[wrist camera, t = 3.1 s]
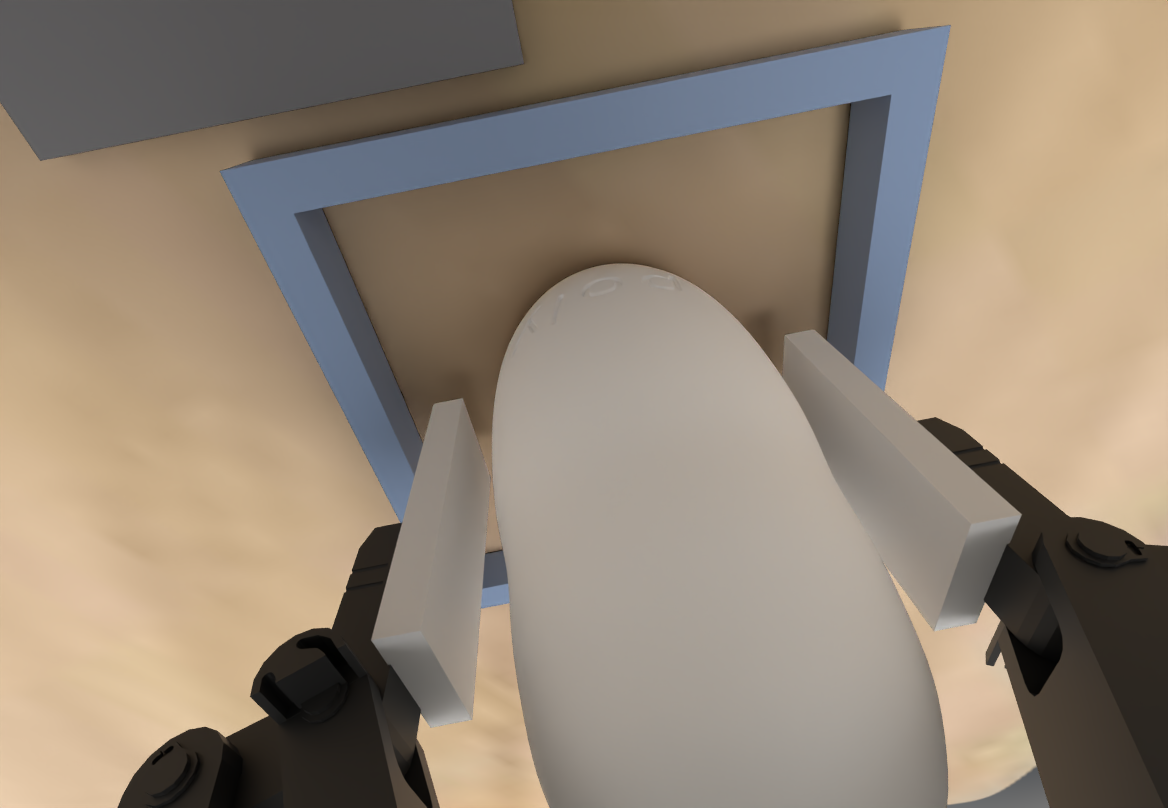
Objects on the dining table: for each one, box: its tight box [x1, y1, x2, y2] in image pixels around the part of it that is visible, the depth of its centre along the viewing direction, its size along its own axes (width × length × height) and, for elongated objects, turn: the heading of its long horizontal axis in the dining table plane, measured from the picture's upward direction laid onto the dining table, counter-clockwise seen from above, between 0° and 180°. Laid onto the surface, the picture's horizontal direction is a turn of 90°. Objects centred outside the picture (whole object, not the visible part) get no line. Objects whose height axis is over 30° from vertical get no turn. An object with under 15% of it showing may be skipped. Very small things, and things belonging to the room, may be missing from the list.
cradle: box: [220, 25, 951, 608], centre depth 15 cm, size 14×14×2 cm
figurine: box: [492, 263, 948, 808], centre depth 10 cm, size 7×8×12 cm
